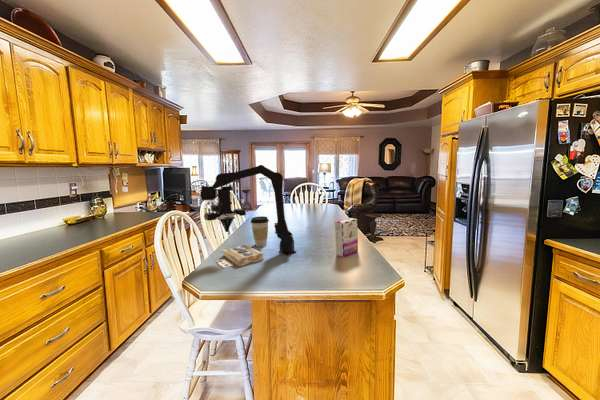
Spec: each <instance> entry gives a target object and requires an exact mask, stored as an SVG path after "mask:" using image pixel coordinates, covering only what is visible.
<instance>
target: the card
mask: <svg viewBox="0 0 600 400" xmlns="http://www.w3.org/2000/svg"><path fill="white" fill-rule="evenodd" d="M223 259H224V258H223ZM223 259H219V260H220V261H219V260H218V261H219V263H218V264H219V265H218V264H217V265H218V266H220V267H221V266H222V267H221V268H222V269H225V268H226V269H227V268H229V267H230V268H231V267H233V266H234V264H232V263H231V262H230V261H228V260H226V259H224V260H223Z"/></svg>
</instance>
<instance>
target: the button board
mask: <svg viewBox="0 0 600 400" xmlns="http://www.w3.org/2000/svg"><path fill="white" fill-rule="evenodd" d="M235 247H236V246H235ZM235 247H234V246H233V247H231V248H226V249H222V256H223V255H224V256H225V257H224V256H223V257H224V258H226V257H227V258H228V259H227V258H226V259H227V260H229V261H231V262H232V263H233V264H236V266H238V267H241V266H245V265H249V264H253V263H256V262H259V261H263V260H264V253H263V252H261V251H259V250H257V249H256V248H253V247H250V246H249V245H246V244H244V245H239V246H237V247H240V248H245V249H246V252H251V255H250V256H245V255H244V253H241V254H240V253H239V250H237V251H235V250H234V248H235ZM246 252H245V253H246Z"/></svg>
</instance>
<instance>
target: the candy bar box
mask: <svg viewBox="0 0 600 400" xmlns="http://www.w3.org/2000/svg"><path fill="white" fill-rule="evenodd" d="M334 228H335V255H336V256H338V257H341V258H346V257H348V256H351V255H353V254H357V253H358V252H359V246H358V244H359V242H358V241H359V237H358V233H359V232H358V218H354V217H348V218H344V219H342V220H337V221H334Z"/></svg>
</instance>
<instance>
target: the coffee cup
mask: <svg viewBox="0 0 600 400" xmlns="http://www.w3.org/2000/svg"><path fill="white" fill-rule="evenodd" d="M269 222H270V220H269V218H268V216H263V215H262V216H254V217H252V218H251V220H250V223H251V226H252V227H251V230H252V234H253V235H252V236H253V240H254V245H256V246H255V247H265V246H267V245H268V244H267V242H268V233H269Z"/></svg>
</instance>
